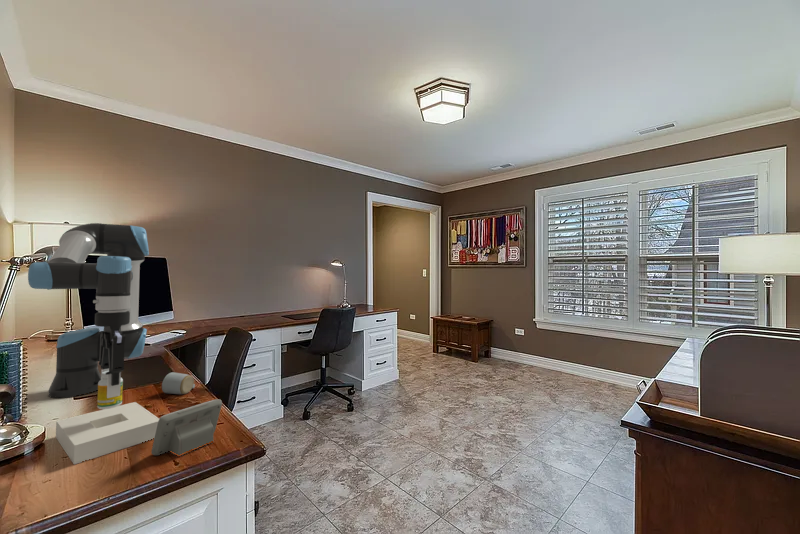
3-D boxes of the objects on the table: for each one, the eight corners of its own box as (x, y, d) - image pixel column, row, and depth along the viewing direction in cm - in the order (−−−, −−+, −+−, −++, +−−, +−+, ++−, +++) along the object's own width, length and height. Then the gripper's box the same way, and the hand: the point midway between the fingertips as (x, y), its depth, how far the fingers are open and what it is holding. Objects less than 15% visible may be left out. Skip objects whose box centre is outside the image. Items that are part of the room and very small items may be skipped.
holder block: (55, 437, 95) (56, 420, 95) (134, 416, 109) (135, 401, 109) (74, 464, 81) (74, 445, 82) (161, 436, 96) (161, 420, 96)
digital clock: (215, 430, 100) (216, 394, 100) (227, 441, 94) (228, 402, 94) (147, 451, 88) (149, 409, 88) (156, 465, 82) (157, 420, 82)
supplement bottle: (101, 404, 97) (102, 369, 97) (124, 401, 99) (125, 367, 99) (94, 411, 92) (95, 375, 92) (119, 407, 94) (120, 372, 94)
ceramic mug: (181, 397, 126) (182, 376, 126) (160, 396, 127) (161, 375, 127) (200, 388, 136) (201, 368, 137) (181, 387, 137) (182, 368, 137)
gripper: (86, 309, 98) (84, 390, 98) (105, 314, 87) (102, 406, 87) (119, 307, 104) (117, 384, 104) (140, 312, 93) (137, 397, 93)
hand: (110, 393), depth 95 cm, fingers closed on supplement bottle, 5 cm apart
